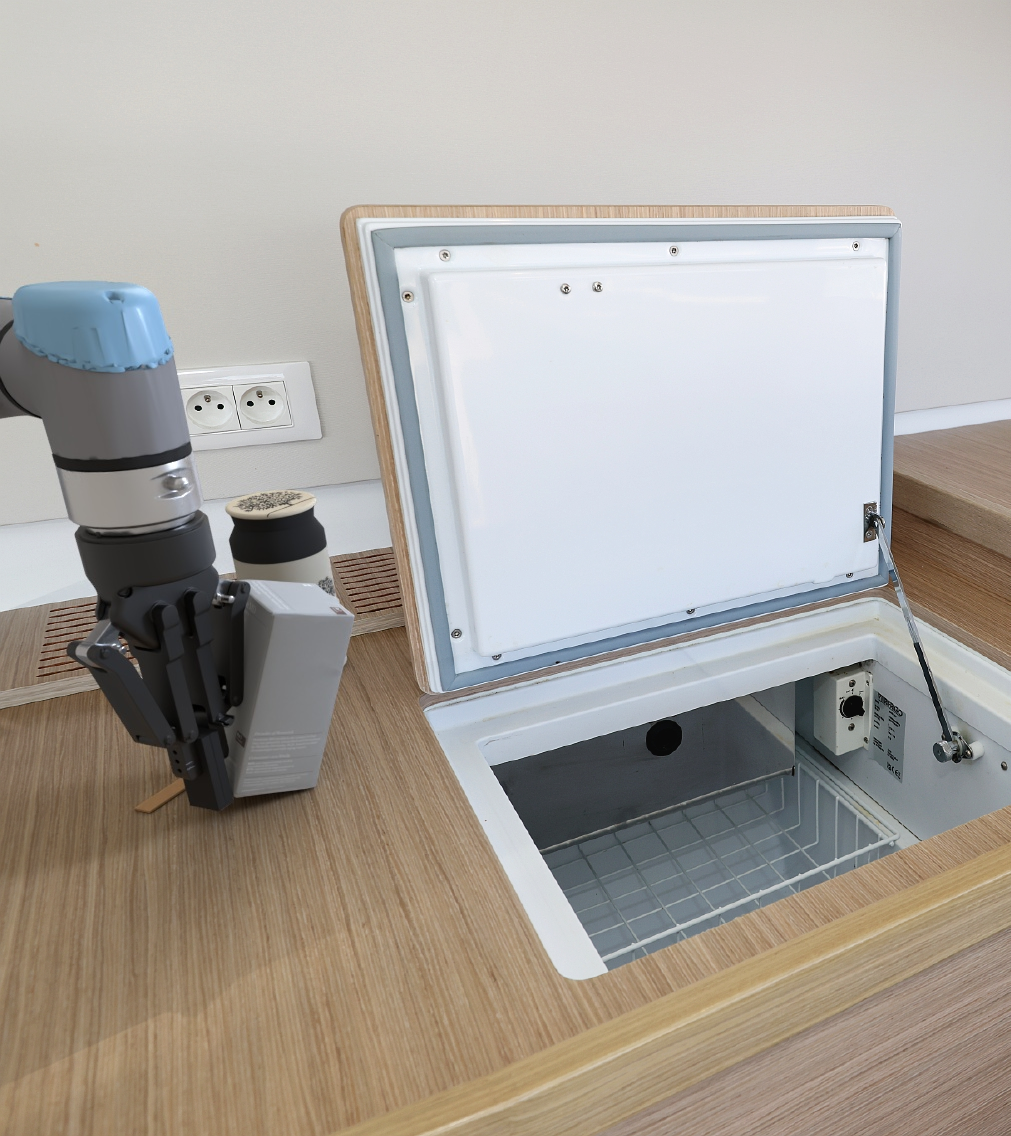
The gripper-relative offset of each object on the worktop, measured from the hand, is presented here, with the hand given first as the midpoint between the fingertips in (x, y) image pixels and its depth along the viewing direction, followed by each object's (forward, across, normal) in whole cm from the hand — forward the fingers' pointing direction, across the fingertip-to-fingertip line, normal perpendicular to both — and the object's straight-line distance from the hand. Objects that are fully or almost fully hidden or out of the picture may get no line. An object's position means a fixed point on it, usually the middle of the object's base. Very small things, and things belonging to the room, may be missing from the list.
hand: (212, 803), depth 74 cm
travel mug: (+2, +22, +11) cm, 25 cm away
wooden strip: (+2, +8, +6) cm, 11 cm away
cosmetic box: (+1, +5, 0) cm, 5 cm away
